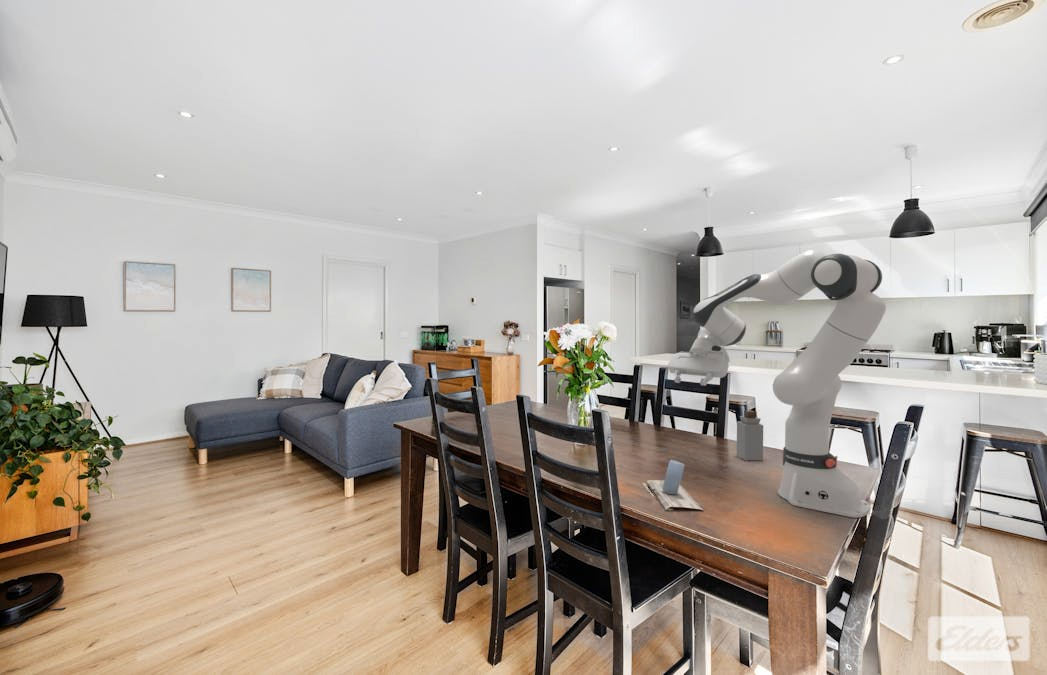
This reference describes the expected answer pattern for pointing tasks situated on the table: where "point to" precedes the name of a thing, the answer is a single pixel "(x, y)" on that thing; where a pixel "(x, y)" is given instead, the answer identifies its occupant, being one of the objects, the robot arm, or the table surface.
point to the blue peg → (673, 477)
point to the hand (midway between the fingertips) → (689, 383)
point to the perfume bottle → (750, 437)
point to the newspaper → (671, 496)
